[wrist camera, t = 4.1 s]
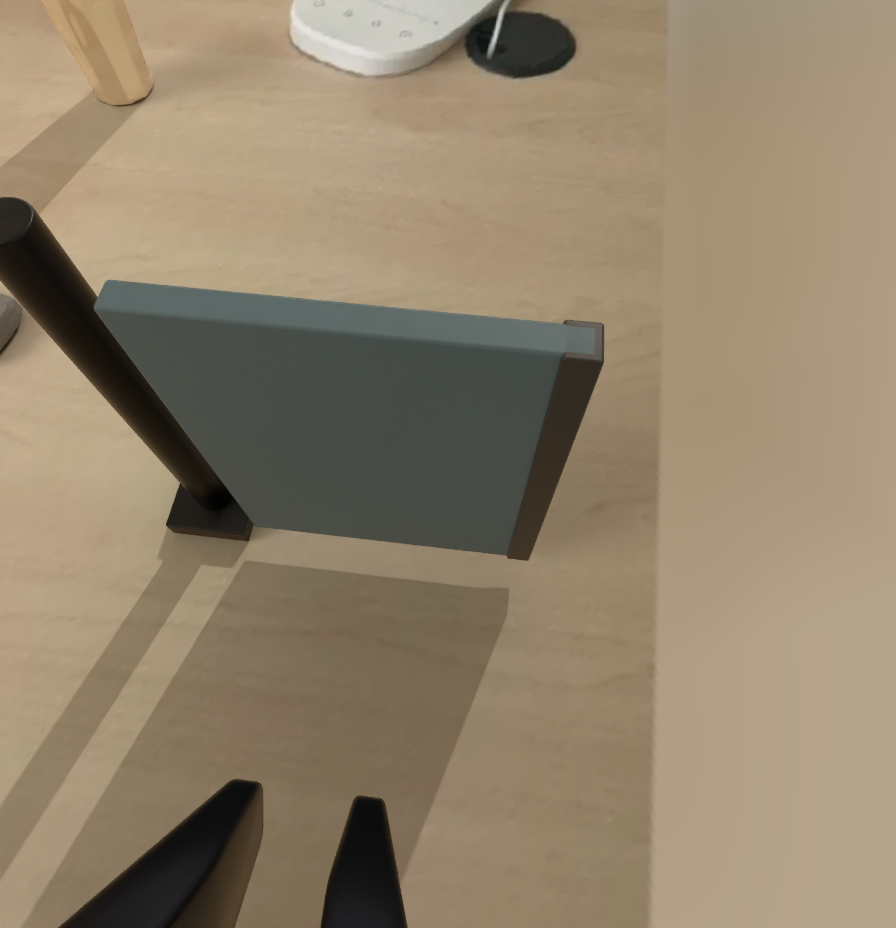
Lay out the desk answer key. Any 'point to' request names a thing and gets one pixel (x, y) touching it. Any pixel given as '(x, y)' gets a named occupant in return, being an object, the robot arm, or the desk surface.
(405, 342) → the door
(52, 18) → the milkshake
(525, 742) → the desk surface
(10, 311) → the key chain
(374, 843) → the robot arm
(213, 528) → the door post
